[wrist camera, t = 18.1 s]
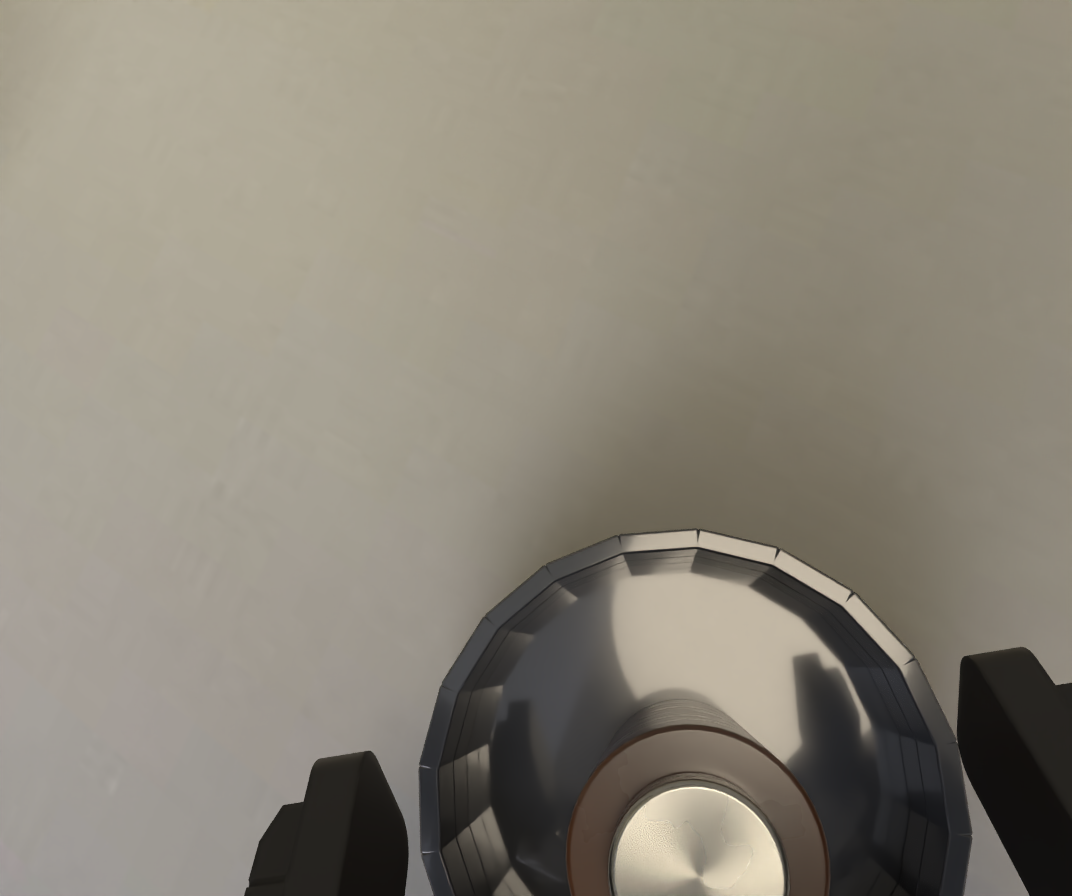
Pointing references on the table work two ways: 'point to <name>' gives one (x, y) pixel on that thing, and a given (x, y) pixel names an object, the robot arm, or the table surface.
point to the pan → (698, 675)
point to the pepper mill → (693, 814)
